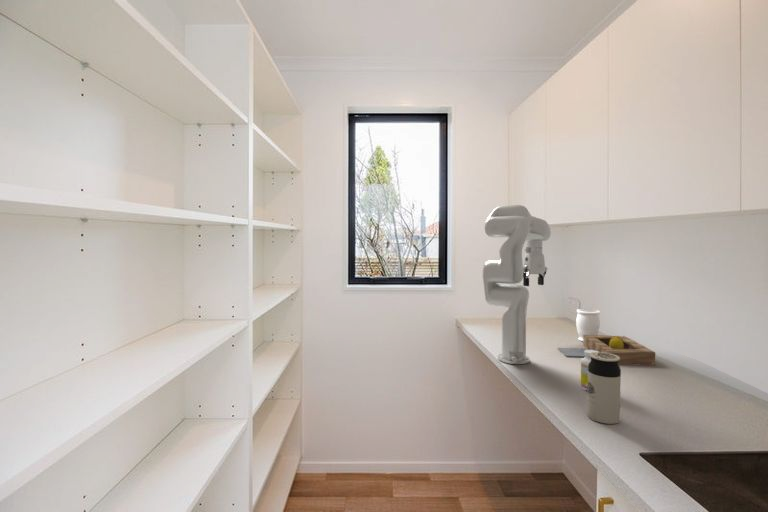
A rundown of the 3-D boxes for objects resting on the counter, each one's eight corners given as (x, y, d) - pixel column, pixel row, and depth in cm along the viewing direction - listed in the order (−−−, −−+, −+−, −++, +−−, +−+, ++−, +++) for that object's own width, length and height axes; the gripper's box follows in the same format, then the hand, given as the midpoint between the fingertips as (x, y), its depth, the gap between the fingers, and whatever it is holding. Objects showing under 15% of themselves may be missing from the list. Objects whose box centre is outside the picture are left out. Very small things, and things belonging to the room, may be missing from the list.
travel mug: (615, 414, 113) (617, 352, 112) (622, 426, 106) (624, 361, 105) (585, 410, 116) (586, 350, 115) (589, 422, 108) (591, 358, 108)
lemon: (621, 353, 172) (621, 335, 172) (625, 357, 167) (625, 338, 166) (607, 352, 174) (607, 334, 173) (610, 356, 168) (611, 337, 168)
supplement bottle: (592, 384, 136) (592, 348, 135) (607, 391, 130) (608, 353, 129) (575, 386, 134) (576, 349, 134) (590, 394, 128) (591, 355, 127)
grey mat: (595, 358, 166) (595, 356, 166) (566, 356, 167) (566, 355, 167) (585, 349, 177) (585, 348, 177) (557, 348, 179) (557, 347, 179)
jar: (575, 336, 200) (576, 307, 200) (598, 339, 196) (599, 309, 195) (575, 341, 191) (576, 311, 190) (599, 344, 186) (600, 313, 186)
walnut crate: (654, 365, 156) (655, 352, 156) (606, 363, 158) (607, 350, 158) (624, 347, 182) (624, 335, 181) (583, 345, 184) (583, 334, 184)
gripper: (526, 251, 186) (526, 287, 187) (552, 250, 193) (552, 285, 194) (515, 250, 193) (514, 285, 193) (540, 250, 200) (540, 283, 201)
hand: (533, 285), depth 194 cm, fingers open, 9 cm apart
